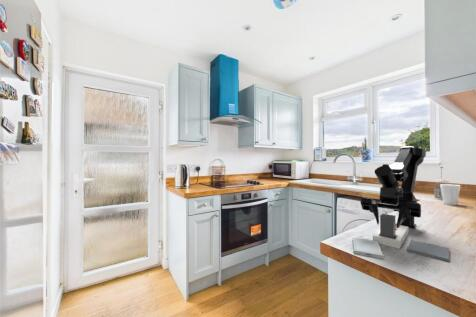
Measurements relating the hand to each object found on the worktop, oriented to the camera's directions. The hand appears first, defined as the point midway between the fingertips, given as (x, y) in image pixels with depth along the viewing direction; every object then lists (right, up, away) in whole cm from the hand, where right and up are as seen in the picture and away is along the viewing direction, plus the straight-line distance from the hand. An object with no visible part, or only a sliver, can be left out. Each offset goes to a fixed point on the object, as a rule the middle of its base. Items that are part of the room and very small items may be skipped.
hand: (387, 225), depth 75 cm
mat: (+9, -6, -6) cm, 13 cm away
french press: (+100, -6, +79) cm, 127 cm away
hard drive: (-10, -7, -4) cm, 13 cm away
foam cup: (+90, -6, +63) cm, 110 cm away
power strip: (+7, -7, +7) cm, 11 cm away
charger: (+1, -7, +1) cm, 7 cm away
